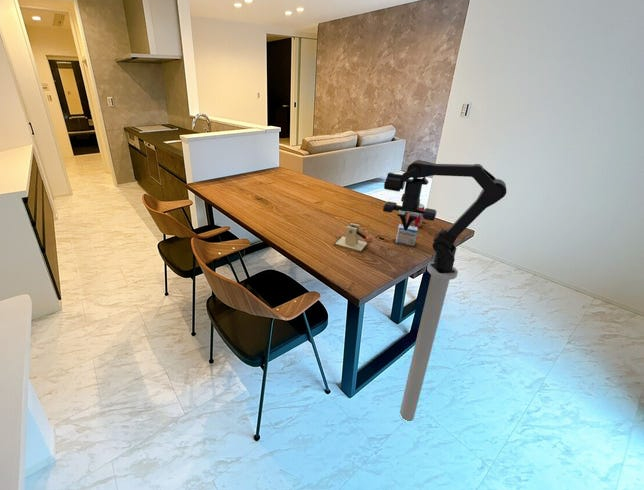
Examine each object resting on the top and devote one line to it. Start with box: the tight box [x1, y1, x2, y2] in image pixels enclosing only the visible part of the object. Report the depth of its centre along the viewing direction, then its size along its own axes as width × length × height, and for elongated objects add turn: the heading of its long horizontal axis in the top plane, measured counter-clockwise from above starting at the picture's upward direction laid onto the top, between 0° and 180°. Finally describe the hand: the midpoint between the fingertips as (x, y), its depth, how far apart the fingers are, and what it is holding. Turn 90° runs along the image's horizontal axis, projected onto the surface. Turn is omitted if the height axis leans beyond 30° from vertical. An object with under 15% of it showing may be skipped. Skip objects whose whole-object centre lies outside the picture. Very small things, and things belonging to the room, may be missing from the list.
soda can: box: [407, 203, 426, 228], centre depth 152 cm, size 7×7×12 cm
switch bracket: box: [335, 222, 368, 252], centre depth 134 cm, size 12×9×10 cm
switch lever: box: [351, 225, 373, 244], centre depth 131 cm, size 11×3×3 cm, turn 57°
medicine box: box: [395, 223, 419, 247], centre depth 135 cm, size 8×4×9 cm, turn 68°
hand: (405, 230), depth 120 cm, fingers closed
